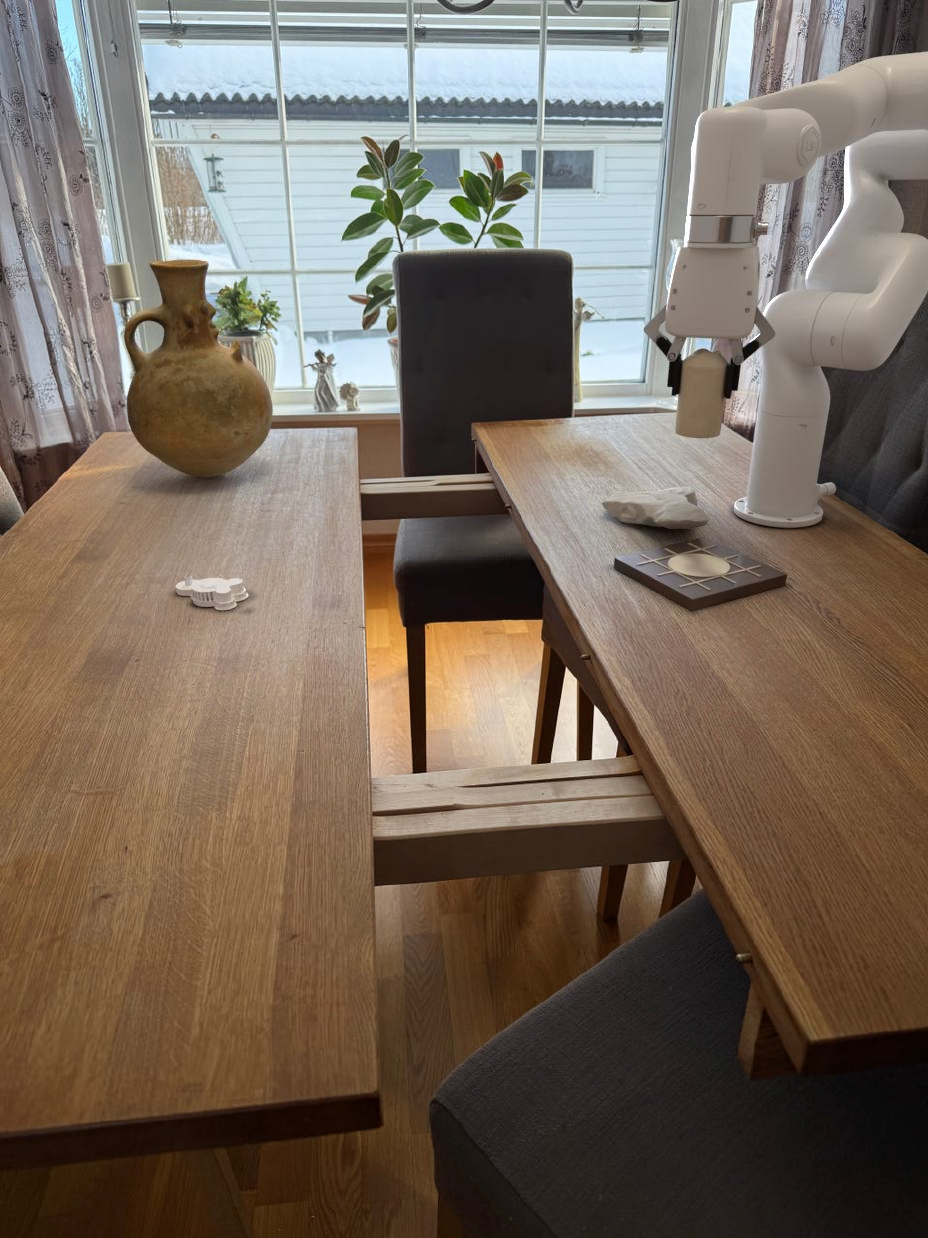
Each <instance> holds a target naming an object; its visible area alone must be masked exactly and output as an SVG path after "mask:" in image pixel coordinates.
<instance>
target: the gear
mask: <svg viewBox="0 0 928 1238" xmlns="http://www.w3.org/2000/svg"><path fill="white" fill-rule="evenodd" d="M183 579H184V580H182V581H179V582H178V583H176V584H175V591H176V594H177V595H178V596H183V597H190V598H191V600H192V602H193V604H194V605H195V606H197V607H201V608H202V607H203V608H208V607H209V608H210V607H211V608H212V607H214V609H215V610H217V611H230V610H233V609H234V608H236V607H237V605H238V603H237V602H241V601H245V600H246V599H248V598H249V595H250V594H249V592H247V588H246V587H245V585H244V580H243V579H242V578H241V577H240V578H239V577H234V578H229V579H225V578H221V577H207V578H203V579H202V578H201V579H193V576H192V574H185V575H183Z"/></svg>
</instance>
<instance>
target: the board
mask: <svg viewBox="0 0 928 1238" xmlns="http://www.w3.org/2000/svg"><path fill="white" fill-rule="evenodd" d="M613 558H614V560H613V569H614V570H616V571H618V572H621V573H622V574H623V575H626V576H628V577H629V578H631V579H634V580H635V581H636V582H638V583H640V584H642V585H644V586H646V587H647V588H648V589H650V590H653V591H655V592H656V593H658V594H660V595H662V596H663V597H665V598H667V599H669V600H670V601H672V602H674V603H676V604H679V605H680V606H681V607H683V608H685V609H687V610H689V611H690V612H694V611H697V610H700V609H704V608H708V607H710V606H711V607H712V606H715V605H718V604H722V603H725V602H729V601H732V600H736V599H741V598H743V597H747V596H751V595H755V594H759V593H762V592H766V591H769V590H773V589H776V588H780V587H784V586H786V583H787V577H788V573H786V572H783V571H781V570H779V569H777V568H774V567H772V566H769V565H768V564H766V563H763V562H761V561H758V560H756V559H754V558H752V557H750V556H747V555H745V554H743V553H740V552H739V551H736V550H734V549H732V548H729V547H727V546H725V545H723V544H721V543H719V542H717V541H714V540H712V539H709V538H707V537H705V536H702V537H697V538H693V539H689V540H685V541H680V542H676V543H671V544H667V545H663V546H658V547H655V548H650V549H646V550H645V549H644V550H642V551H636V552H633V553H632V552H631V553H627V554H623V555H620V556H616V557H613Z"/></svg>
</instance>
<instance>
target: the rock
mask: <svg viewBox="0 0 928 1238" xmlns="http://www.w3.org/2000/svg"><path fill="white" fill-rule="evenodd" d="M601 505H602V507H603V508H604V509H605V511H607V512H609V513H610V514H611V515H612V516H614V517H616V518H617V519H618V520H619V521H620V522H622V523H626V524H634V525H635V524H636V525H642V526H643V525H644V526H648V527H655V528H666V529H669V530H676V529H681V530H686V529H687V530H688V529H689V530H690V529H691V530H692V529H694V528H700V527H704V526H706V525H707V524H708V523H709V517H708V515H707V514H706V512H705V510H704V509H703V508H702V507H700V506H698V498H697V496H696V492H695V489H694V487H692V486H681V487H680V486H675V487H669V488H663V489H661V490H660V489H659V490H649V491H646V490H645V491H628V490H617V491H615V492H614V493H612V494H611V495H610V496H608V498H606V499H605V500H602V502H601Z"/></svg>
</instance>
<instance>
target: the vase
mask: <svg viewBox="0 0 928 1238" xmlns="http://www.w3.org/2000/svg"><path fill="white" fill-rule="evenodd" d="M209 264H210V263H209V262H208V261H207V260H200V259H190V258H189V259H170V260H154V261H151V262H150V263H149V267H150V269H151V272H152V273H153V274H154V277H155V280H156V281H157V284H158V288H159V292H160V297H161V304H160V305H159V306H156V307H153V308H148V309H145V310H141V311H137V312H135V313H134V314H133V315H131V317H129V319H128V321H127V323H126V324H125V328H124V335H123V337H124V338H123V339H124V345H125V348H126V350H127V352H128V355H129V358H130V360H131V362H132V365H133V367H134V370H135V373H134V375H133V377H132V379H131V381H130V384H129V388H128V391H127V395H126V413H127V414H126V415H127V421H128V426H129V428H130V430H131V432H132V435H133V436H134V438H135V439H136V442H138V444H139V445H140V446H141V447H142V449H144V450H145V451H146V452H148V454H150V455H152V456H153V457H155V458H156V459H158V460H159V461H161V462H162V463H163V464H166V465H167V466H169V467H171V468H172V469H174V470H176V471H177V472H180V473H182V474H185V475H188V476H193V477H198V478H214V477H218V476H219V477H220V476H221V475H226V474H228V473H230V472H232V471H233V470H235V469H237V468H238V467H240V466H241V465H243V464H244V463H245V462H246V461H248V460H249V458H251V457H252V456H253V455H254V454H255V453H256V452H257V451H258V450H259V449H260V448H261V447H262V446H263V444H264V443H265V441H266V440H267V438H268V436H269V433H270V431H271V426H272V423H273V413H274V408H273V401H272V397H271V391H270V389H269V386H268V384H267V383H266V381H265V378H264V377H263V375H262V374H261V372H260V370H259V369H258V368H257V367H256V365H255V364H254V363H252V361H250V360H249V359H248V358H247V357H246V356H245V355H244V353H243V349H242V345H241V342H240V341H239V340H238V339H236V340H235V341H234V342H233V343H232V345H230V346H225V345H223V344H222V343H220V342H219V339H218V338H219V335H220V329H219V328H218V327H217V324H216V323H215V322H213V319H214V317H215V316H216V314H217V309H216V307H215V306H214V305H213V304H212V303H210V302H209V300H208V298H207V293H206V278H207V274H208V271H209V266H210V265H209ZM144 322H154V323H156V324H159V325H160V326H161V327H162V329H163V339H162V342H161V344H160V345H159V346H158V347H157V348H155V349H154V350H153V351H152V352H146V351H144V350H143V349H142V348H141V347H140V346H139V345H138V344H137V342H136V332H137V329H138V327H139V325H141V324H142V323H144Z"/></svg>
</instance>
